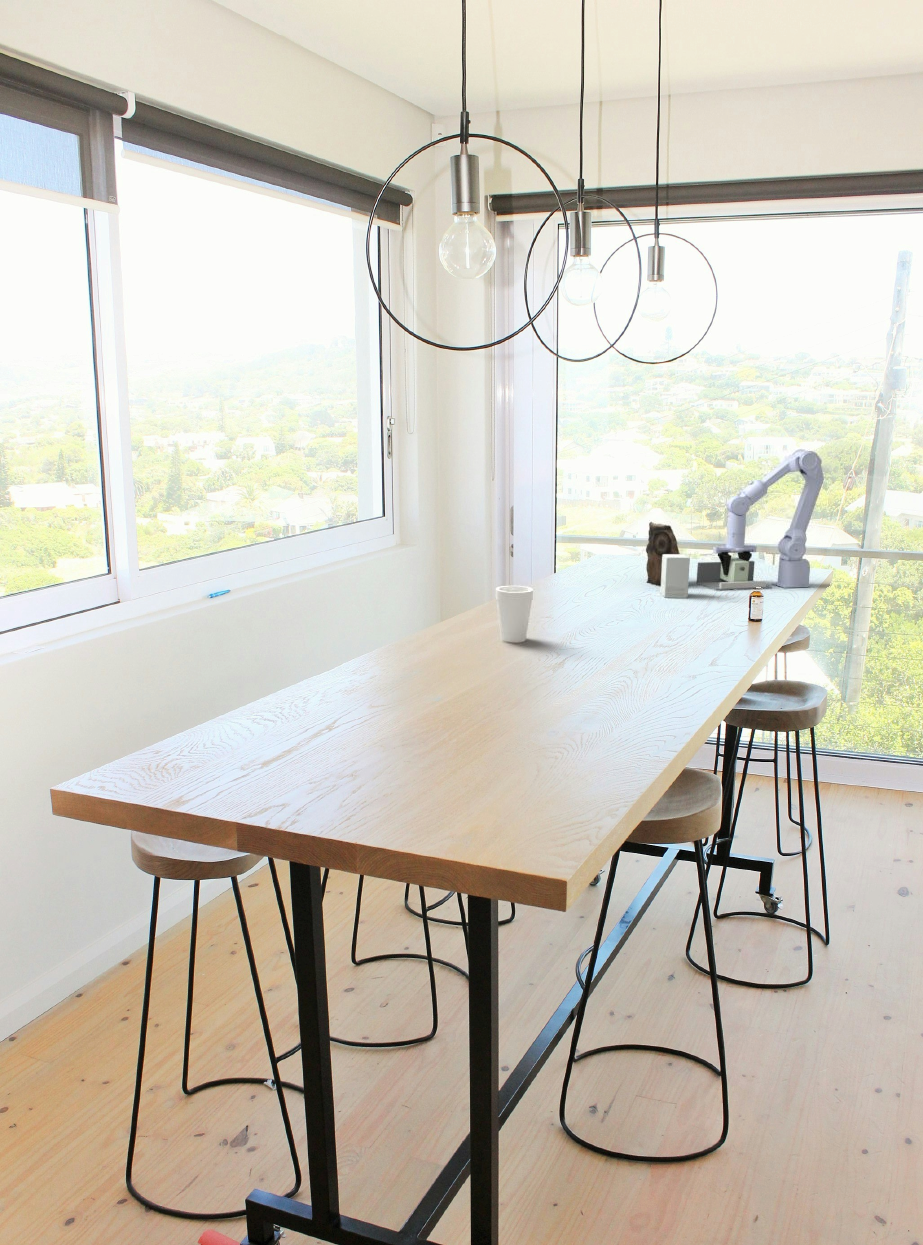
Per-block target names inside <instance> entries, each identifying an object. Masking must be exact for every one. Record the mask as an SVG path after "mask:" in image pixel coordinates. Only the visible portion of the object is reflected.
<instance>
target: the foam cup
mask: <svg viewBox="0 0 923 1245" xmlns="http://www.w3.org/2000/svg"><path fill="white" fill-rule="evenodd" d="M533 599H534V588H532V587H530V586H525V585H502V586H498V587H495V600H496V606H497V615H498V624H499V632H500V633H499V634H500V640H501V641H502V642H504V643H505V642H506V643H523V642H525V641H527V640H526V638H527V633H528V627H529V622H530V621H529V620H530V615H531V609H532V601H533Z"/></svg>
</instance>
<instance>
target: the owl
mask: <svg viewBox="0 0 923 1245" xmlns="http://www.w3.org/2000/svg"><path fill="white" fill-rule="evenodd" d="M648 527H649V528H648V529H649V530H648V543H647V545H646V548H645V552H646V556H647V561H646V573H647V580H646V583H647V584H650V585H654V586H656V587H661V573H662V555H663V554H680V550H679V547H678V541H677V538H676V535H675V533H674V531H673V529H672V525H667V524H663V523H654V522H652V521H650V522H649V523H648Z"/></svg>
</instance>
